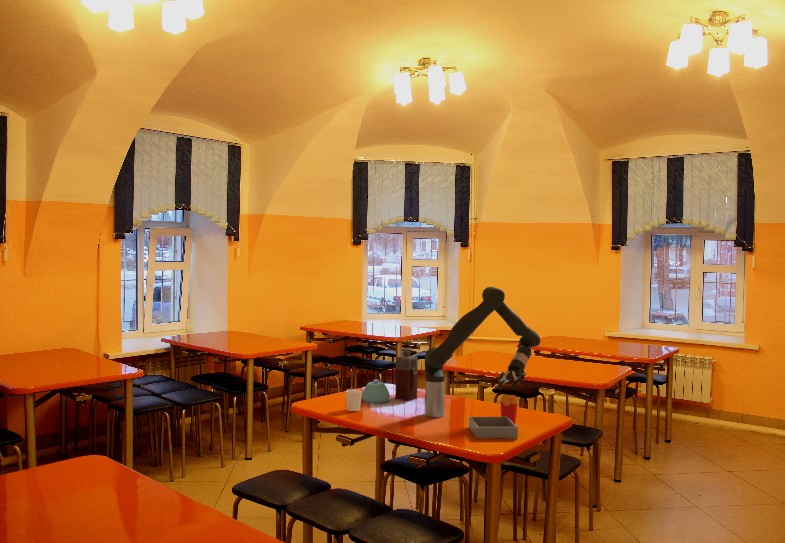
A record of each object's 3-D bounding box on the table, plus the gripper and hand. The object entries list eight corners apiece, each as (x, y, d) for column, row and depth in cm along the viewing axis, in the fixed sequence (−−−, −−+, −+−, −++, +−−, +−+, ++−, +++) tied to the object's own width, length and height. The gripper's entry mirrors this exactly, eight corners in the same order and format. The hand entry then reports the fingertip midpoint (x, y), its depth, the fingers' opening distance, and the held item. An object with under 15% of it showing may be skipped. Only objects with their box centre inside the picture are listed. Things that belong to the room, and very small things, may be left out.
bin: (476, 439, 267) (476, 427, 267) (468, 427, 285) (469, 416, 285) (517, 438, 269) (517, 427, 269) (507, 427, 287) (507, 416, 286)
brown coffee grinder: (412, 401, 334) (413, 350, 333) (395, 399, 340) (395, 348, 339) (420, 398, 342) (421, 348, 341) (403, 396, 348) (404, 346, 347)
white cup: (355, 413, 309) (355, 393, 308) (342, 410, 313) (342, 391, 312) (364, 410, 315) (364, 390, 315) (351, 407, 319) (351, 388, 319)
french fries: (498, 420, 298) (498, 393, 298) (504, 419, 301) (504, 392, 300) (513, 424, 291) (514, 397, 291) (519, 423, 294) (519, 396, 293)
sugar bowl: (373, 396, 345) (373, 376, 345) (395, 400, 336) (395, 379, 336) (356, 401, 333) (356, 380, 333) (378, 406, 324) (378, 384, 324)
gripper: (503, 359, 311) (490, 383, 302) (526, 357, 301) (513, 381, 291) (510, 370, 314) (498, 394, 304) (533, 368, 303) (521, 392, 294)
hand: (505, 388), depth 298 cm, fingers open, 8 cm apart
